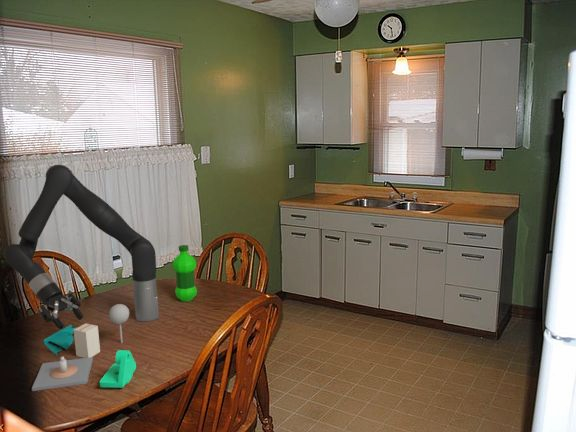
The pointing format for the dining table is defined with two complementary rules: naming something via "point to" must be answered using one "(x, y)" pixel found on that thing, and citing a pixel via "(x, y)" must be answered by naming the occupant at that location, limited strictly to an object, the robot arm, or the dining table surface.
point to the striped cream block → (87, 340)
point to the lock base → (63, 373)
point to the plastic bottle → (185, 274)
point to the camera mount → (119, 370)
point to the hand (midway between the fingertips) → (72, 323)
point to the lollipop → (119, 315)
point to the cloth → (60, 339)
